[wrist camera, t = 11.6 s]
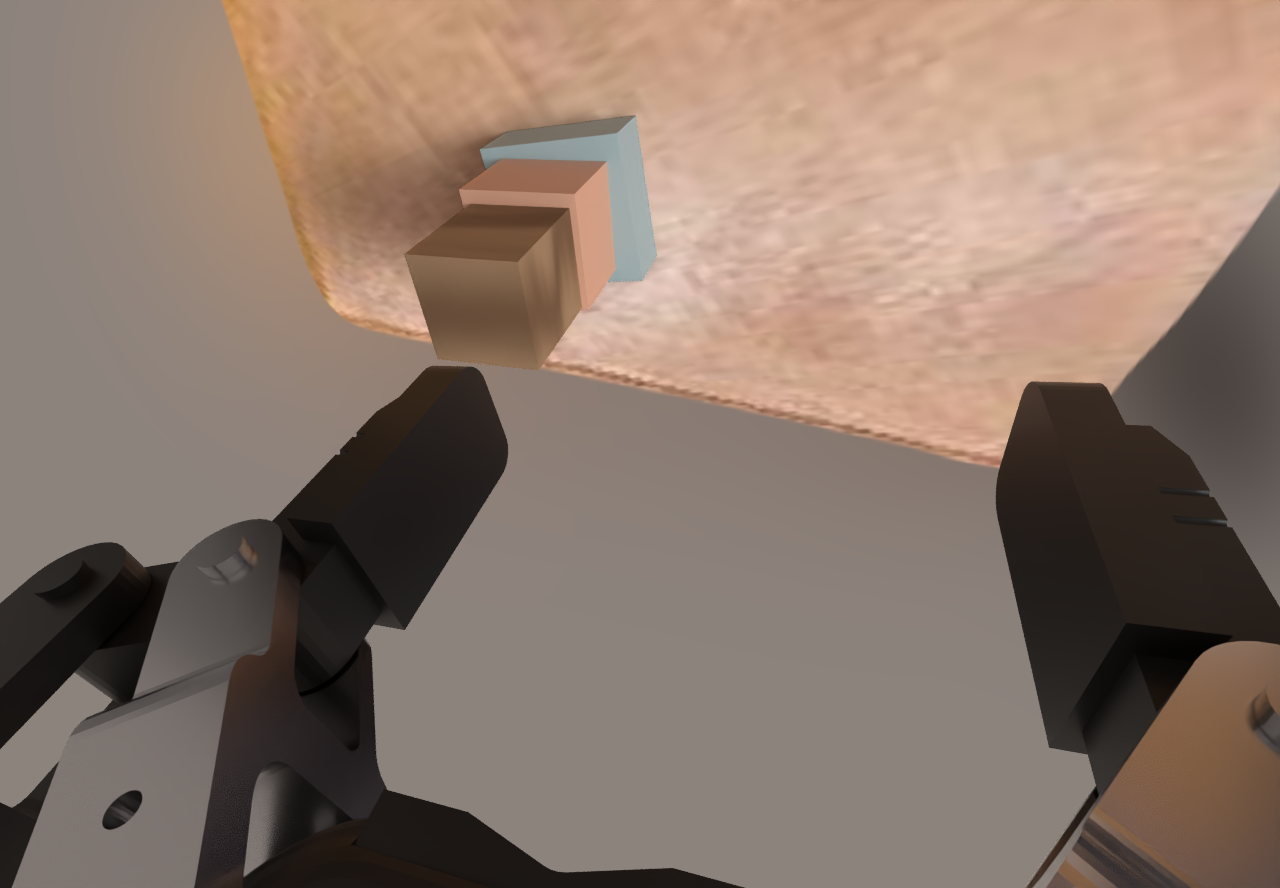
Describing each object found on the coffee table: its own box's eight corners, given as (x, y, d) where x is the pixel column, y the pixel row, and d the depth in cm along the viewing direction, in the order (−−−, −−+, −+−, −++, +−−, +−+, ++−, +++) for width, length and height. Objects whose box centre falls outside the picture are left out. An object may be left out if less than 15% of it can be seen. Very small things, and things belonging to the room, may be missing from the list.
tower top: (502, 158, 33) (458, 189, 29) (606, 161, 32) (574, 194, 28) (522, 262, 37) (485, 301, 33) (615, 269, 36) (588, 310, 32)
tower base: (510, 129, 36) (479, 149, 33) (637, 113, 34) (616, 133, 31) (545, 258, 41) (521, 285, 38) (658, 252, 38) (642, 280, 36)
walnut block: (470, 203, 30) (404, 254, 25) (569, 207, 29) (517, 261, 24) (492, 299, 33) (437, 358, 29) (582, 307, 32) (538, 370, 28)
